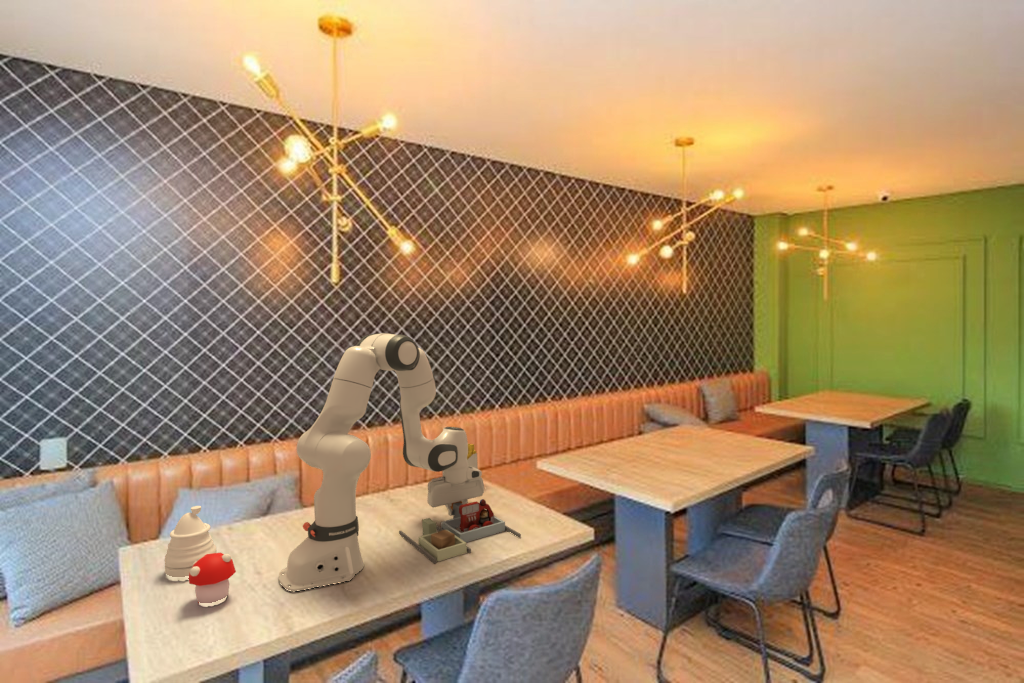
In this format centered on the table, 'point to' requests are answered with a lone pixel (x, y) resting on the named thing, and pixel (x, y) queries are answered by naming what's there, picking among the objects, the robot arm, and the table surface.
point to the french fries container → (472, 456)
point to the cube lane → (441, 554)
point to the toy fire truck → (475, 515)
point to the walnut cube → (442, 539)
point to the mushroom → (212, 577)
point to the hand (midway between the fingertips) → (456, 513)
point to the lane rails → (441, 530)
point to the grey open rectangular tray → (472, 534)
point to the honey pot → (188, 544)
